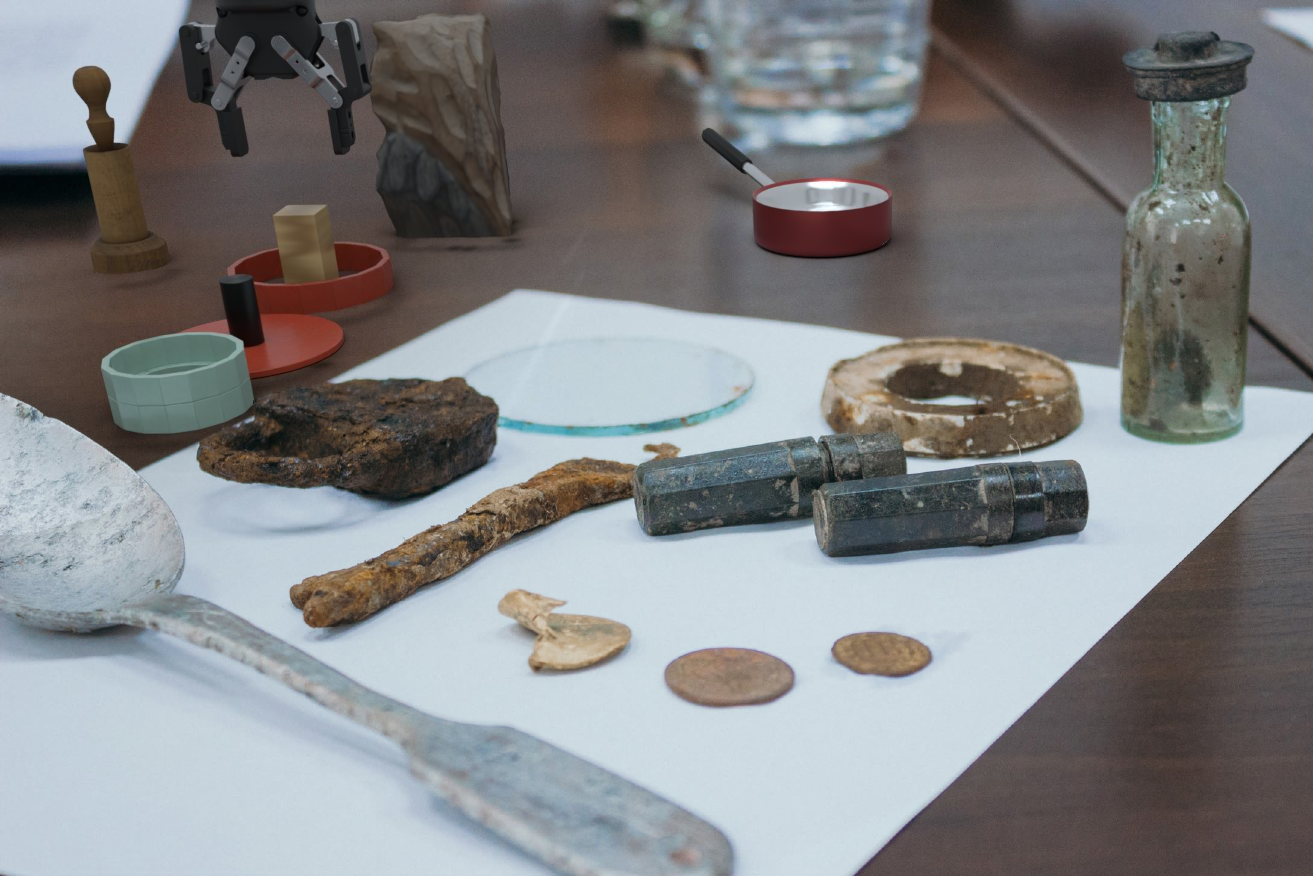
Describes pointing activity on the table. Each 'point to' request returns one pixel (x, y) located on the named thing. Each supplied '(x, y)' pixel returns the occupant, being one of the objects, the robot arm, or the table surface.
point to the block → (305, 243)
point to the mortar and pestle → (115, 188)
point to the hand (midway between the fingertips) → (291, 154)
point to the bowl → (178, 382)
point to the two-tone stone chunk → (440, 127)
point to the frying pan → (813, 210)
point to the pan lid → (271, 331)
